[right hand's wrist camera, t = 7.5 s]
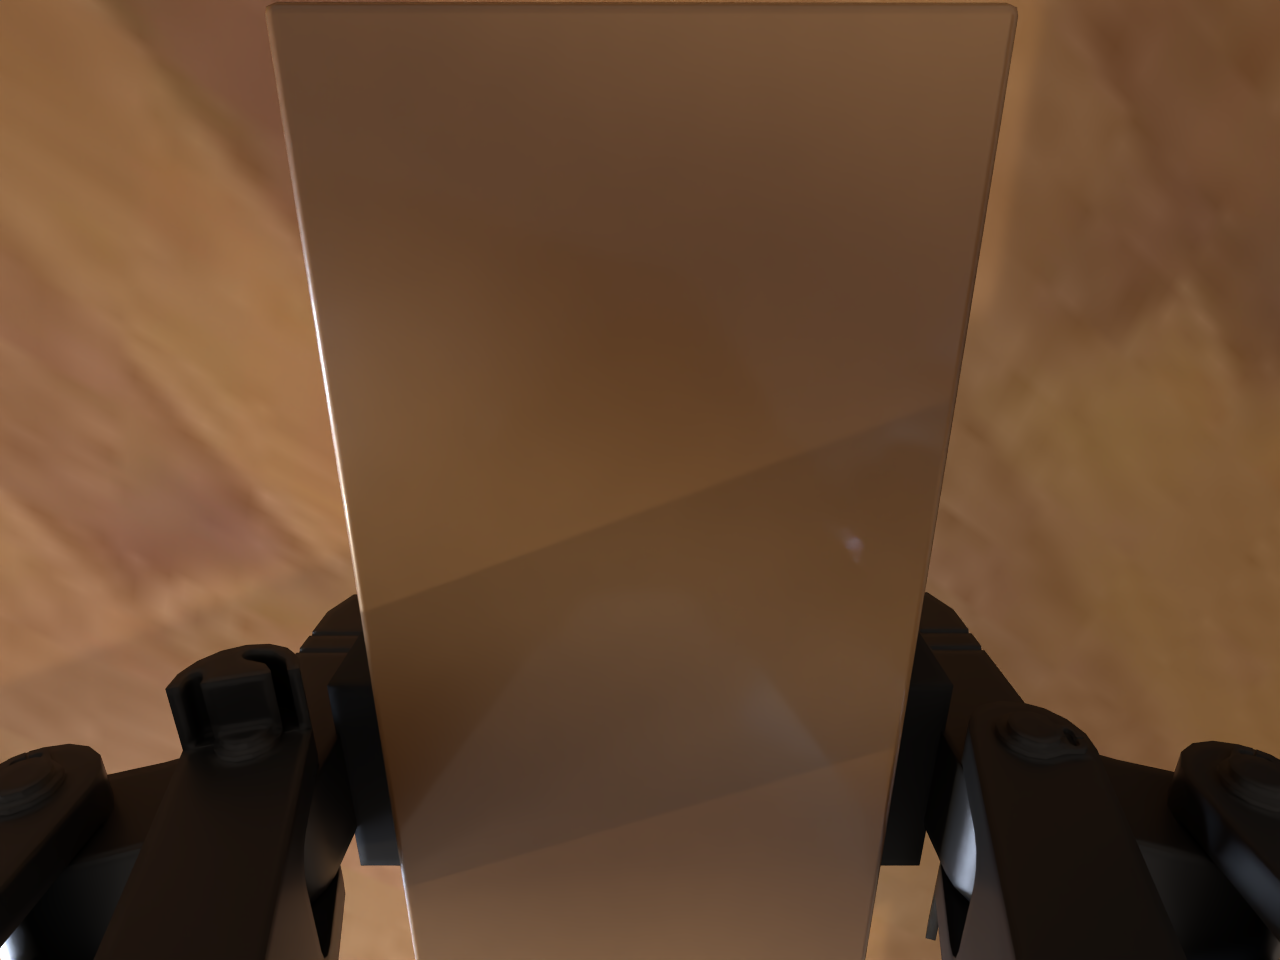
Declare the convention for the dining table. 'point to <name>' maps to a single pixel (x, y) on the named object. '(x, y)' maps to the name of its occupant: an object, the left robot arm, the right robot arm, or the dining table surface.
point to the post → (640, 440)
